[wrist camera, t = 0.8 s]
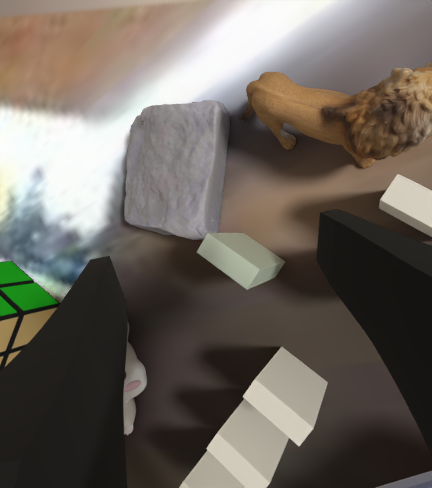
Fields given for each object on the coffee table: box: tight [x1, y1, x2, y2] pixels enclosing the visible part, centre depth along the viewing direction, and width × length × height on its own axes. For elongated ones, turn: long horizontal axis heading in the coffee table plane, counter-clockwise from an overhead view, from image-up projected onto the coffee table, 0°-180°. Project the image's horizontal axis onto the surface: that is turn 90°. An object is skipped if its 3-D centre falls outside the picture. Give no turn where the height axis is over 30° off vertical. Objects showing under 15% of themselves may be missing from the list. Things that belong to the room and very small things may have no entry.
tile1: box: [379, 174, 432, 237], centre depth 21 cm, size 2×4×7 cm, turn 57°
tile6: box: [179, 450, 246, 488], centre depth 27 cm, size 2×4×7 cm, turn 57°
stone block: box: [124, 100, 230, 240], centre depth 31 cm, size 12×5×10 cm
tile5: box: [206, 398, 289, 488], centre depth 26 cm, size 2×4×7 cm, turn 57°
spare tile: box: [197, 233, 286, 290], centre depth 26 cm, size 2×4×7 cm, turn 57°
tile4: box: [243, 347, 328, 446], centre depth 25 cm, size 2×4×7 cm, turn 58°
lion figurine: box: [238, 62, 432, 168], centre depth 22 cm, size 15×5×9 cm, turn 77°
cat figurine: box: [123, 321, 147, 436], centre depth 32 cm, size 10×8×15 cm
